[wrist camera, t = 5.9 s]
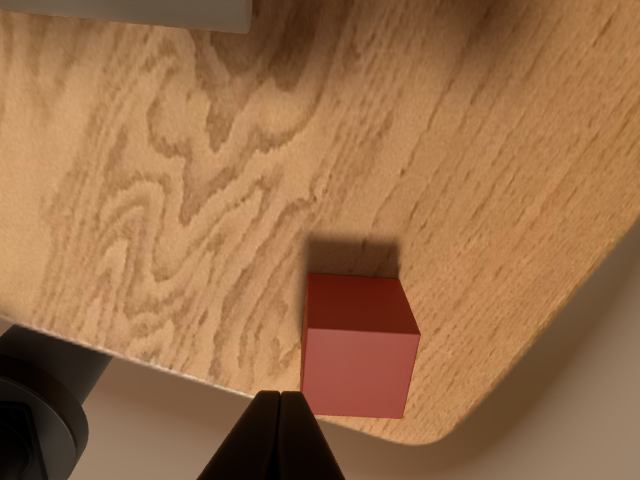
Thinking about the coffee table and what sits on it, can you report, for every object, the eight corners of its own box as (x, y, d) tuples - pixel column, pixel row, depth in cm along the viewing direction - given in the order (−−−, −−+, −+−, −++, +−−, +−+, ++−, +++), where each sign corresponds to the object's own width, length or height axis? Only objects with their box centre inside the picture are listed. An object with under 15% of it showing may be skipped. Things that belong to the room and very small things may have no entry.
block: (386, 352, 23) (402, 419, 18) (301, 347, 22) (299, 414, 18) (399, 278, 21) (421, 334, 17) (307, 272, 21) (306, 327, 16)
